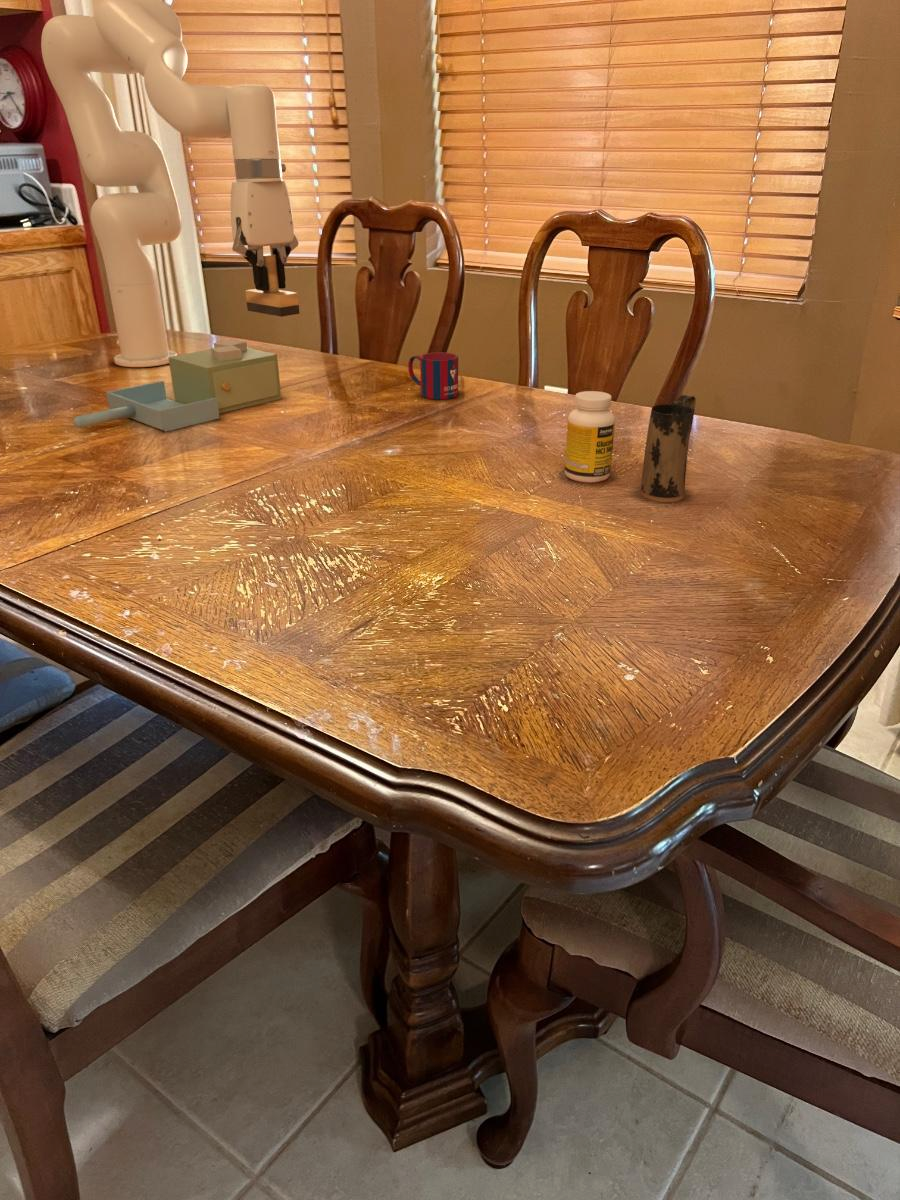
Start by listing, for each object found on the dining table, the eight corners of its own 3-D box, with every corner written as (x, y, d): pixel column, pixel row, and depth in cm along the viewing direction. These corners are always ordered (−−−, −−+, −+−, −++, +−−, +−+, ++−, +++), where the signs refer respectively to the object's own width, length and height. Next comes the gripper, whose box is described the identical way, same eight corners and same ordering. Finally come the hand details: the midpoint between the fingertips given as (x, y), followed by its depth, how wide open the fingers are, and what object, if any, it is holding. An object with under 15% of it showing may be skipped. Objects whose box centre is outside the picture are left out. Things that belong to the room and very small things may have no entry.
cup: (440, 401, 150) (440, 362, 147) (400, 392, 156) (398, 354, 153) (465, 394, 155) (465, 355, 151) (425, 385, 161) (424, 348, 157)
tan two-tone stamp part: (247, 310, 154) (240, 254, 150) (265, 308, 157) (259, 252, 152) (281, 316, 148) (275, 257, 143) (299, 313, 150) (294, 255, 146)
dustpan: (165, 400, 152) (162, 380, 150) (219, 418, 142) (217, 398, 140) (52, 424, 139) (47, 403, 137) (102, 446, 128) (98, 424, 127)
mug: (670, 505, 107) (682, 410, 101) (631, 495, 110) (641, 402, 104) (699, 488, 112) (712, 397, 107) (661, 479, 115) (672, 390, 110)
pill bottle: (599, 487, 113) (606, 404, 108) (556, 478, 116) (561, 397, 110) (617, 473, 117) (624, 393, 112) (575, 465, 120) (581, 386, 115)
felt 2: (211, 357, 147) (210, 348, 146) (234, 354, 149) (233, 345, 148) (219, 361, 144) (218, 352, 143) (242, 358, 146) (241, 349, 145)
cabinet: (175, 402, 151) (168, 357, 147) (242, 387, 160) (237, 344, 156) (217, 416, 143) (211, 369, 139) (285, 400, 152) (281, 355, 148)
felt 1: (214, 351, 150) (213, 343, 150) (231, 347, 153) (230, 339, 153) (230, 354, 148) (229, 345, 148) (247, 350, 151) (246, 341, 151)
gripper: (284, 170, 149) (294, 282, 158) (203, 173, 139) (218, 292, 147) (311, 170, 145) (320, 285, 153) (229, 173, 134) (244, 296, 143)
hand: (270, 288), depth 150 cm, fingers closed on tan two-tone stamp part, 2 cm apart
